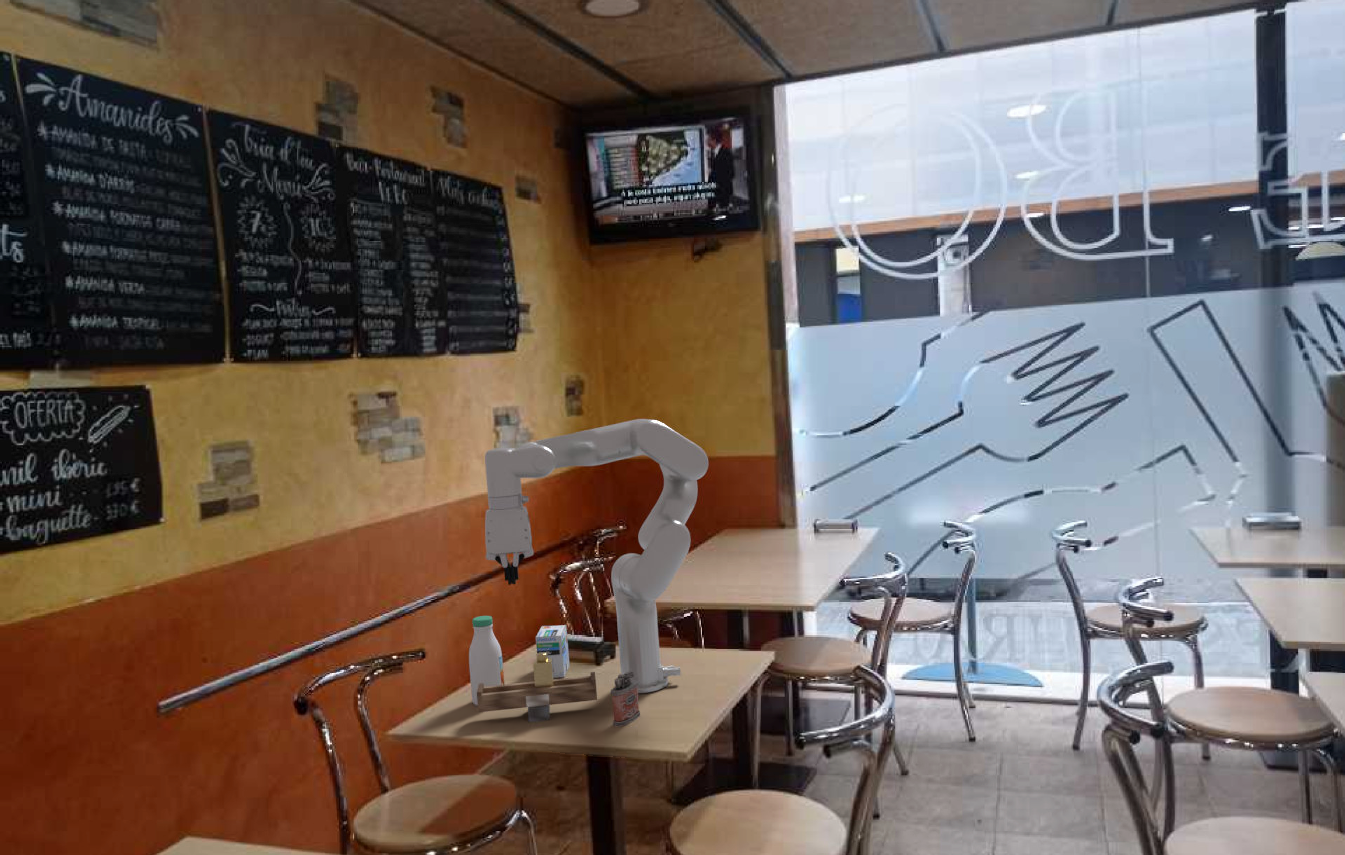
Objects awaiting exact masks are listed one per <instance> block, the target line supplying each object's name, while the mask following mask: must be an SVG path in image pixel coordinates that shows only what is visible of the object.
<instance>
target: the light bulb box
mask: <svg viewBox="0 0 1345 855" xmlns="http://www.w3.org/2000/svg"><path fill="white" fill-rule="evenodd" d="M535 644H536V654H537V653H541V652H546V653H547V657H548V659H549V658H552V671H553V679H554V678H556V679H559V678H565V677H566V675H567V672H568V669H569V668H570V655H569V643H568V631H567V625H566V624H564V625H563V624H562V625H560V624H559V625H541V627H540V628H539V631H538V632H537V635H535Z"/></svg>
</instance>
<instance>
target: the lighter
mask: <svg viewBox="0 0 1345 855" xmlns="http://www.w3.org/2000/svg"><path fill="white" fill-rule="evenodd" d="M633 677H634V672H633V671H629V672H627V673H625V674H624V675H621V673H620V674H618V675H617V678H615V679H614V685H615V686H614V687H613V688H612V689H610V695H611V697H612V698H611V700H612V713H613V714H612V715H613V720H612V725H613V726H614V727H623V726H626V725H627V724H630V723H632V722H634V721H635V720H637V719H638V718H639V717H641V711H640V707H639V693H638V692H637V686H638V682H637V681H635V680H630V679H631V678H633Z"/></svg>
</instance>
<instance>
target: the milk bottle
mask: <svg viewBox="0 0 1345 855" xmlns="http://www.w3.org/2000/svg"><path fill="white" fill-rule="evenodd" d="M493 621H494V620H493V617H492V616H491V615H480V616H475V617H474V618H473V619H472V622H471V623H472V629H474V630H473V637H472V640H471V643H470V646H469V651H468V664H469V676H470V677H469V678H470V680H469V681H470V688H471V689H470V690H471V698H472V699H471V701H472V703H473V705H475V706H477V707H478V701H477V689H478V686H479V684H481V683H484V687H486V686H496V685H506V684H505V675H504V674H505V673H504V672H505V671H504V664H503V654H502V648H501V644H500V643H499V641H498V640H497V638H496V636H495V634H494V630H493V626H494V625H493Z"/></svg>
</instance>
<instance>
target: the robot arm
mask: <svg viewBox="0 0 1345 855" xmlns="http://www.w3.org/2000/svg"><path fill="white" fill-rule="evenodd" d="M639 456H646V457H648V458H650V459H651V460H653V461H654V462H656V463H658V464H659V468H660V471H661V472H662V476H663V489H662V491H661V494H660V495H659V498H658V499H657V501H656V503H655V505H654V506H653V507H652V509H651V511H650V513H649V514H648V515H647V517H646V519H645V520H644V521H643V523H642V525H641V527H640V529H639V531H638V535H637V537H638V543H639V546H640V548H642V549H643V550H644V551H643V552H642V554H638V553H634V552H633V553H632V552H631V553H626V554H623V555H621V556H619V558H618V559H617V560H616V561H615V562H614V563H613V565H612V568H611V572H610V574H611V577H610V579H611V580H610V581H611V585H612V590H613V596H614V597H613V598H614V603H615V610H616V611H615V612H616V618H617V619H616V622H617V633H618V634H617V636H618V650H619V664H620V674H621V675H624V674H625V673H627V672H629V671H633V672H634V677H633V678H631V679H630V680H635V681H637V682H638V686H637V692H638V694H646V693H652V692H656V691H659V690H661V689H664V688H666V687H667V686H668V684H669V677H671V676H673V677H675V676H676V677H677V676H681V675H682V674H681V667H680V666H678V667H675V665H669V666H665V665H663V664H662V662H661V656H660V642H659V626H658V610H657V605H656V604H657V603H656V600H657V599H658V598H659V597H661V595H662V594H664V592H665V591H666V590H667V588H668V587H669V586H670V583H671V582H672V581H673V579H674V577H675V575H676V574H677V572H678V571H679V569H680V567H681V566H682V564H683V562H684V560H685V559H686V558H687V555H688V553H689V550H690V547H691V532H690V531H689V529H688V527H687V526H686V524H687V521H688V519H689V518H690V515H691V514H692V512H693V510H694V508H695V506H696V503H697V498H698V491H699V490H698V481H697V480H699V479H701V478H703V477H704V476H705V474H706V473H707V471H708V469H709V458H708V455H707V453H706V451H705V450H704V449H703V448H702V447H701V446H699V445H697V443H695V442H693V441H692V440H690V439H688V438H686V437H685V436H684V435H681V434H680V433H679V432H677V431H675V430H674V429H673V428H671V427H669V426H668V425H666V424H665V423H663V422H661V421H659V420H656V419H650V418H649V419H647V418H637V419H633V420H627V421H623V422H618V423H615V424H614V423H613V424H609V425H605V426H600V427H595V428H591V429H585V430H582V431H577V432H574V433H569V434H563V435H558V436H552V437H548V438H547V437H546V438H544V439H539V440H534V441H530V442H526V443H523V444H522V445H520V446H519V447H517V448H514V447H499V448H492V449H489V450H487V451H486V452H485V455H484V464H485V473H486V474H485V476H486V477H485V478H486V487H487V488H486V489H487V501H488V502H487V503H488V509H486V510H485V520H484V521H485V522H484V529H485V530H484V532H485V535H484V536H485V549H486V553H485V559H486V560H488V561H495V562H497V563H498V564H499V565H500V566H502V568H503V571H504V581H506V582H507V585H508V586H511V585H516V583H517V581H518V580H519V579H520V578H519V568H518V567H519V566H518V565H520V563H521V562H522V561H523V560H524V559H526V558H529V557H532V556H533V555H534V552H535V551H534V549H533V546H532V545H533V536H532V529H531V524H530V522H531V521H530V517H529V512H528V508H527V506H523V505H524V504H525V503H529V501H530V499H529V495H528V496H527V495H524V494H523V493H522V480H521V479H541V478H546V477H548V476H549V475H551V473H552V472H553V471H554V470H555V469H560V468H566V467H594V466H601V465H604V464H609V463H613V462H617V461H620V460H626V459H631V458H634V457H639ZM508 554H510V555H511V554H513V555H512V556H513V557H512V562H511V563H510V562H509V560H508ZM662 596H663V595H662Z"/></svg>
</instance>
